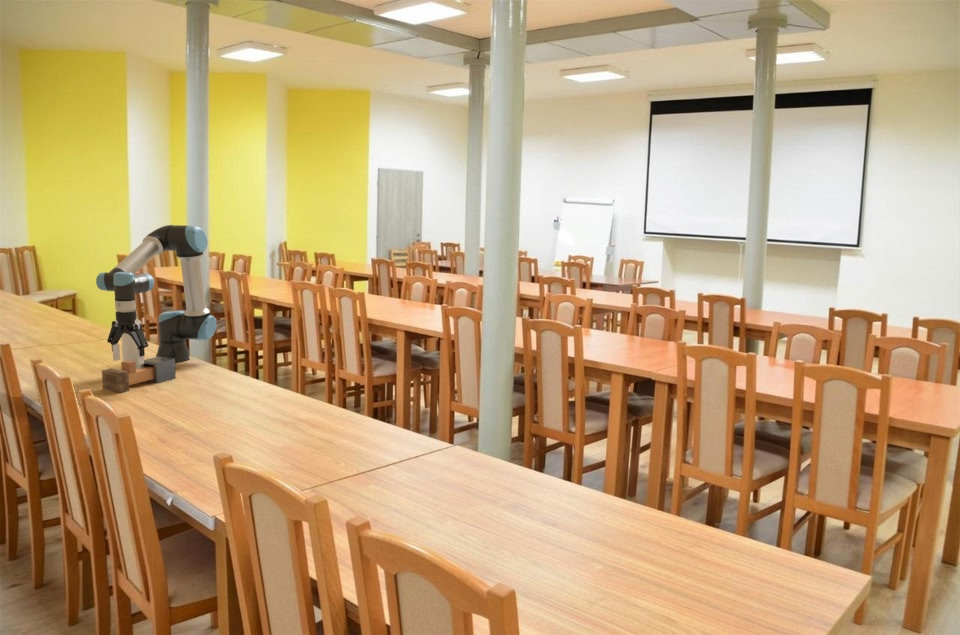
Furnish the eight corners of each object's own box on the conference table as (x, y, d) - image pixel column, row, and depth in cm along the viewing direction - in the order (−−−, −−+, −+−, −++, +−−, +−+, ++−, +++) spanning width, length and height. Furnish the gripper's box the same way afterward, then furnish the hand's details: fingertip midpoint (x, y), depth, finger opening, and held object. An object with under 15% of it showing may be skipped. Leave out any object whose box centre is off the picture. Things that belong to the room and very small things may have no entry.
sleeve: (160, 375, 328) (159, 356, 327) (175, 378, 324) (174, 358, 323) (141, 380, 319) (140, 360, 318) (157, 383, 315) (156, 363, 314)
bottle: (138, 376, 325) (135, 312, 321) (119, 376, 325) (116, 312, 321) (146, 372, 333) (144, 310, 329) (128, 372, 333) (125, 309, 329)
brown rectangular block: (111, 387, 306) (110, 368, 305) (129, 390, 302) (128, 371, 301) (102, 389, 302) (101, 370, 301) (120, 393, 298) (119, 373, 297)
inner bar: (149, 376, 320) (149, 355, 319) (157, 377, 318) (156, 356, 317) (109, 386, 302) (108, 364, 301) (117, 387, 300) (116, 365, 299)
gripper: (95, 309, 305) (99, 360, 308) (140, 314, 295) (143, 367, 298) (111, 306, 311) (114, 356, 315) (156, 312, 301) (158, 363, 305)
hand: (128, 362), depth 307 cm, fingers open, 13 cm apart
